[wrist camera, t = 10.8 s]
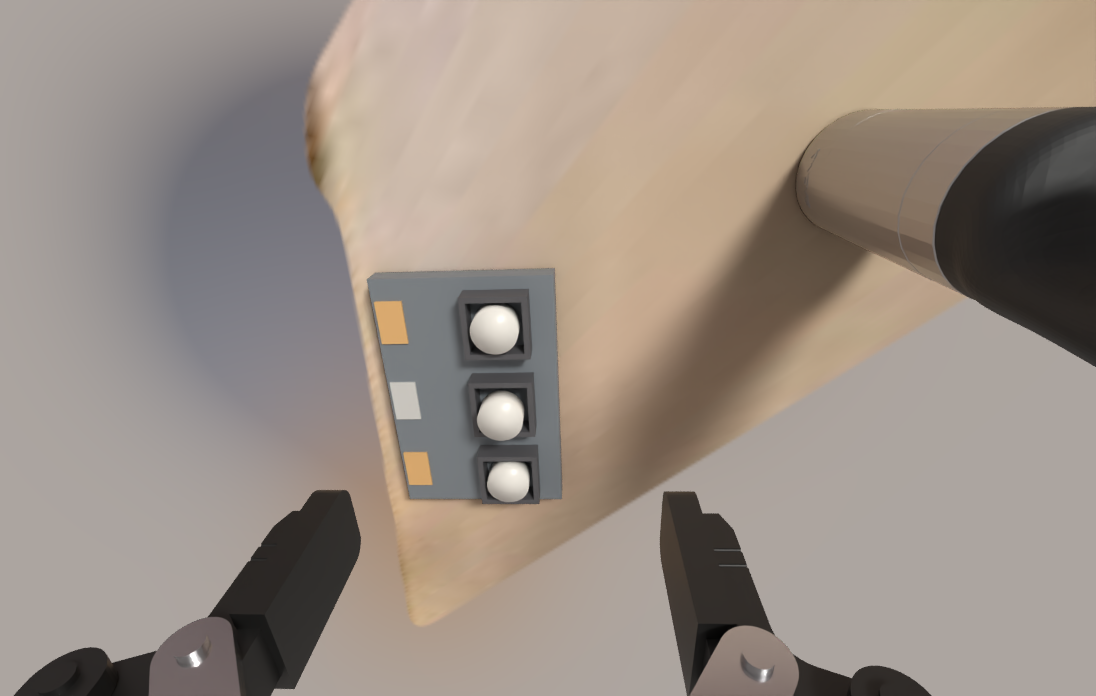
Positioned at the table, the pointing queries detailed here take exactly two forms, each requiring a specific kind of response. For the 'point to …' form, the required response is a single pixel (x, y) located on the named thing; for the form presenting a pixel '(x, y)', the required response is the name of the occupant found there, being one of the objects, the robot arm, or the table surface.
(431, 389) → the switch panel
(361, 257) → the table surface
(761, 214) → the table surface
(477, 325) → the button
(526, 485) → the button
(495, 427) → the button
